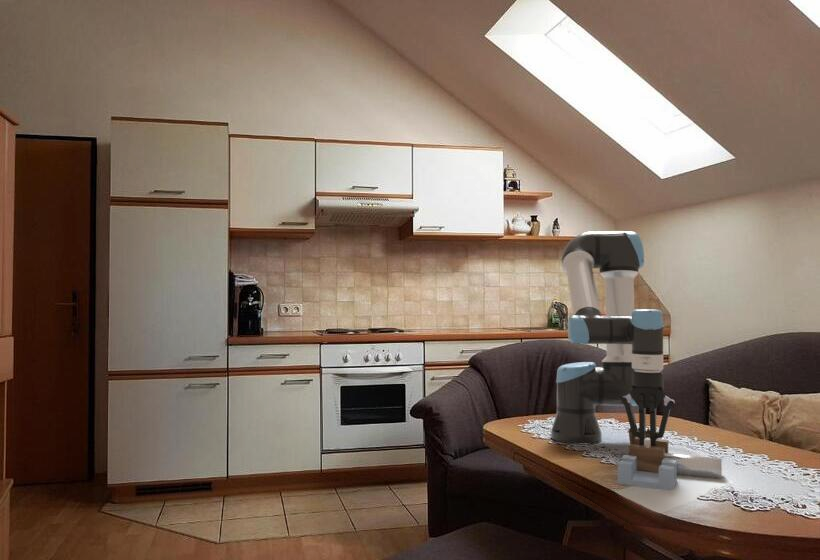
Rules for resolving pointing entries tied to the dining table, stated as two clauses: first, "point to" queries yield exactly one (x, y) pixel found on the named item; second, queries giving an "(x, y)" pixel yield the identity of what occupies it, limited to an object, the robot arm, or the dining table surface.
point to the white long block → (696, 465)
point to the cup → (636, 436)
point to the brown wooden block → (649, 455)
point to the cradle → (647, 474)
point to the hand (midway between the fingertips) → (647, 464)
